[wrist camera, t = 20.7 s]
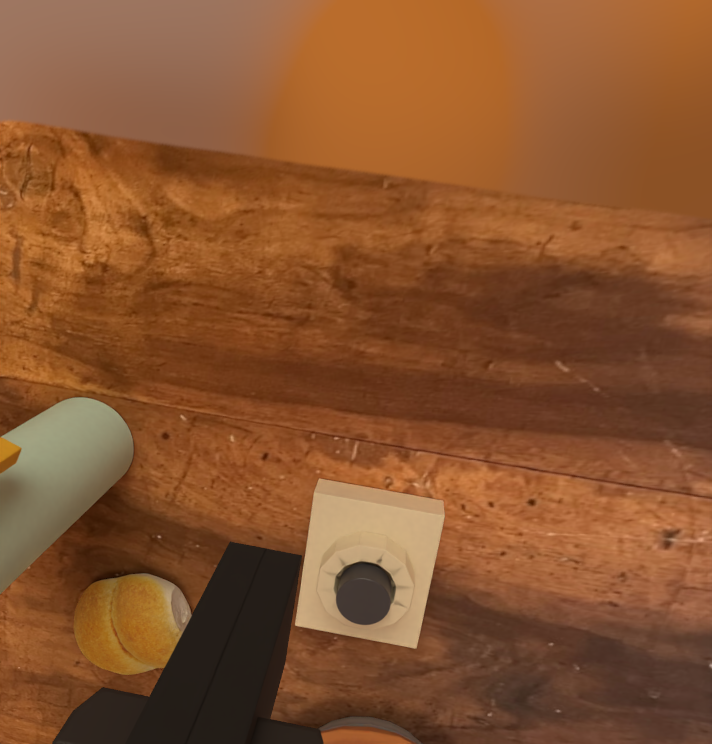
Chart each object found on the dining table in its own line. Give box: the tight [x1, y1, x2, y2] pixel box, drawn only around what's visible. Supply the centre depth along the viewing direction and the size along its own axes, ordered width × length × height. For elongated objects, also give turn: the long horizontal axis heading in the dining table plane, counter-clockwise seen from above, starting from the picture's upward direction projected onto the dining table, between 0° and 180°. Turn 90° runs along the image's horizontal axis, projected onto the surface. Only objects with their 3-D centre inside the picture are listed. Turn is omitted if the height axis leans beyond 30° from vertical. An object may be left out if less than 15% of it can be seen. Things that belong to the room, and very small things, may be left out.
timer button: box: [336, 563, 392, 625], centre depth 41 cm, size 4×4×2 cm
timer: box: [295, 479, 445, 649], centre depth 43 cm, size 11×9×4 cm
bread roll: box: [74, 573, 192, 675], centre depth 47 cm, size 8×9×4 cm
